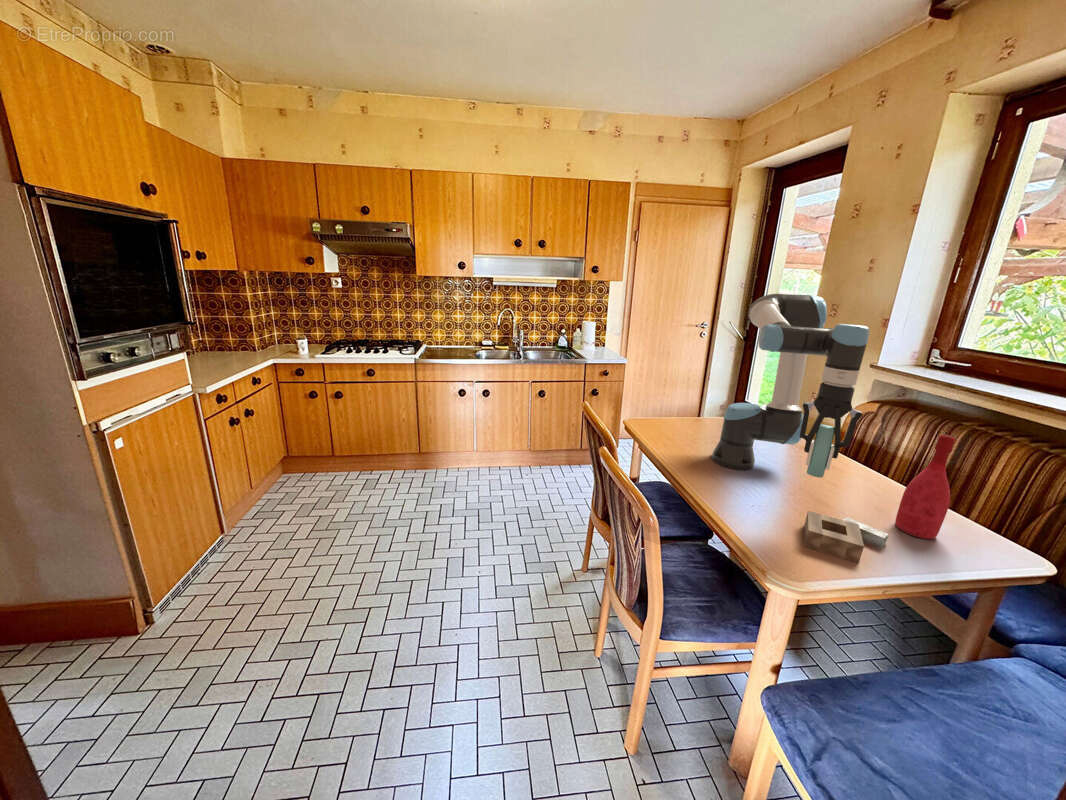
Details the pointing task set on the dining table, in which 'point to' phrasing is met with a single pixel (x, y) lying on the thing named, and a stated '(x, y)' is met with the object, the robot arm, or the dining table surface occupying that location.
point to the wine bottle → (927, 496)
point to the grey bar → (871, 534)
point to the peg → (821, 450)
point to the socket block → (833, 536)
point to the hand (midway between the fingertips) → (817, 465)
